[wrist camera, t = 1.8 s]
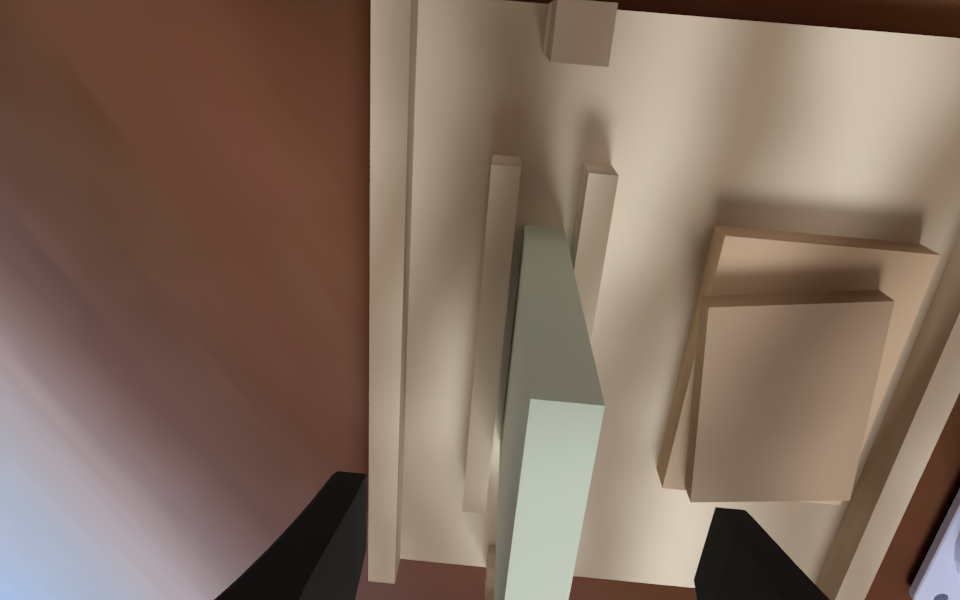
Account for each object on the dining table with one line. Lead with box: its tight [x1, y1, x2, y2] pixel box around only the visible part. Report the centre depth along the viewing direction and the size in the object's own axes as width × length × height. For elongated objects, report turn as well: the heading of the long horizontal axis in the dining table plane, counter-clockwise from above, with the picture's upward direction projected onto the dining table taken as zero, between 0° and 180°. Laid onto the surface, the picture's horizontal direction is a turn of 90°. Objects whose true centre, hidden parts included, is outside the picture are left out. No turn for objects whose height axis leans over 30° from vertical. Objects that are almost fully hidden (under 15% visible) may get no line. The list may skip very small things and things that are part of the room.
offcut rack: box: [368, 0, 960, 600], centre depth 19 cm, size 18×20×5 cm
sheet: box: [494, 225, 605, 600], centre depth 16 cm, size 1×8×10 cm, turn 176°
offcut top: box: [685, 290, 895, 502], centre depth 19 cm, size 5×7×1 cm
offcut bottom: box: [656, 225, 941, 505], centre depth 20 cm, size 6×9×1 cm, turn 176°
